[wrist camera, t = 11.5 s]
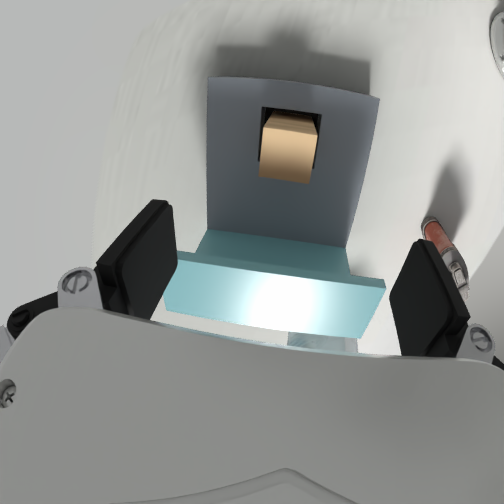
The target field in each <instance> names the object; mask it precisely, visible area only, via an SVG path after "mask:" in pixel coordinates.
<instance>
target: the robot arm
mask: <svg viewBox="0 0 504 504" xmlns="http://www.w3.org/2000/svg"><path fill="white" fill-rule="evenodd" d="M491 45H492V50H493V54H494V57H495V60H496V64H497V66H498V68H499V70H500V73H501V74H502V76H503V78H504V12H501V13H498V14H497V15H496V16H495V18H494V20H493V22H492V26H491ZM96 264H97V266H96V267H95V268H94V270H92V269H91V268H88V267H78V268H74V269H72V270H70V271H68V272H67V273H65V274H64V275H63V276H62V277H61V279H60V281H59V283H58V291H57V292H54V293H52V294H49V295H47V296H44V297H42V298H39V299H37V300H34V301H32V302H29V303H26V304H24V305H21V306H20V307H18V308H16V309H15V310H14V311H13V312H12V314H11V315H10V317H9V319H8V321H7V327H6V328H5V327H4V326H3V325H2V326H1V327H0V504H504V364H503V363H502V362H501V361H500V360H499V359H497V358H496V357H495V356H494V352H495V341H494V339H493V337H492V335H491V334H490V332H489V331H488V330H487V329H486V328H485V327H483V326H482V325H480V324H476V323H475V324H471V325H469V326H468V324H467V321H468V320H469V318H470V315H469V312H468V310H467V307H466V305H465V303H464V301H463V299H462V296H461V294H460V292H459V290H458V288H457V286H456V284H455V282H454V280H453V278H452V276H451V274H450V272H449V270H448V268H447V266H446V264H445V262H444V260H443V259H442V257H441V255H440V253H439V251H438V250H437V248H436V246H435V244H434V243H433V242H432V241H429V240H424V239H418V241H417V242H414V243H413V244H412V247H411V249H410V251H409V254H408V256H407V258H406V260H405V263H404V265H403V267H402V269H401V271H400V273H399V276H398V278H397V280H396V282H395V284H394V286H393V288H392V290H391V292H390V296H389V300H390V305H391V309H392V313H393V317H394V321H395V326H396V330H397V335H398V339H399V344H400V349H401V354H402V356H396V355H377V354H363V353H351V352H340V351H329V350H320V349H311V348H302V347H294V346H287V345H279V344H272V343H266V342H259V341H253V340H247V339H241V338H235V337H229V336H224V335H218V334H213V333H208V332H202V331H197V330H193V329H188V328H183V327H178V326H174V325H170V324H165V323H160V322H156V321H151V320H150V318H151V316H152V314H153V312H154V311H155V309H156V307H157V305H158V303H159V301H160V299H161V297H162V295H163V293H164V291H165V289H166V287H167V286H168V284H169V282H170V280H171V278H172V276H173V274H174V273H175V271H176V269H177V265H178V257H177V249H176V239H175V230H174V219H173V208H172V205H169V204H168V202H167V201H166V200H155V199H153V200H151V201H150V202H149V203H148V204H147V205H146V206H145V208H144V209H143V210H142V211H141V212H140V213H139V214H138V215H137V216H136V217H135V218H134V219H133V220H132V222H131V223H130V224H129V225H128V226H127V227H126V228H125V229H124V230H123V232H122V233H121V234H120V235H119V236H118V237H117V238H116V240H115V241H114V242H113V243H112V244H111V245H110V247H109V248H108V249H107V250H106V251H105V252H104V254H103V255H102V256H101V257H100V258H99V260H98V261H97V262H96Z"/></svg>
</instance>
